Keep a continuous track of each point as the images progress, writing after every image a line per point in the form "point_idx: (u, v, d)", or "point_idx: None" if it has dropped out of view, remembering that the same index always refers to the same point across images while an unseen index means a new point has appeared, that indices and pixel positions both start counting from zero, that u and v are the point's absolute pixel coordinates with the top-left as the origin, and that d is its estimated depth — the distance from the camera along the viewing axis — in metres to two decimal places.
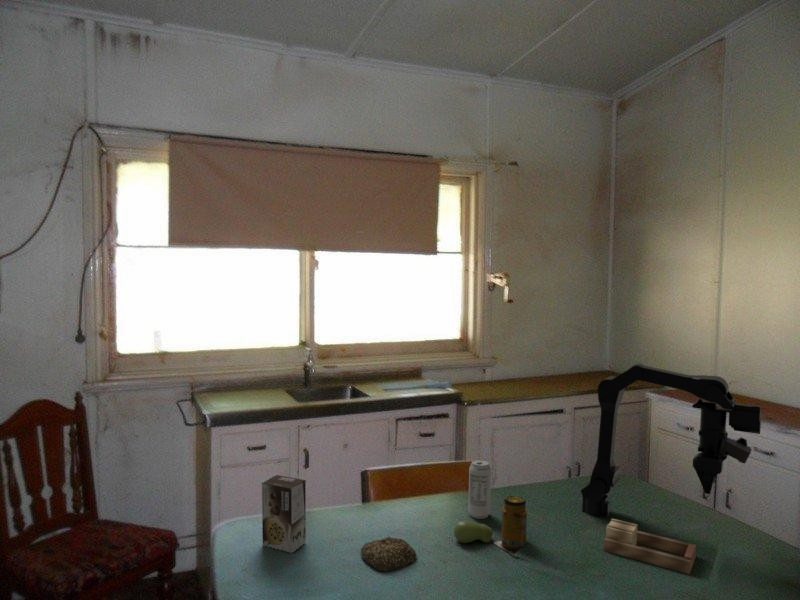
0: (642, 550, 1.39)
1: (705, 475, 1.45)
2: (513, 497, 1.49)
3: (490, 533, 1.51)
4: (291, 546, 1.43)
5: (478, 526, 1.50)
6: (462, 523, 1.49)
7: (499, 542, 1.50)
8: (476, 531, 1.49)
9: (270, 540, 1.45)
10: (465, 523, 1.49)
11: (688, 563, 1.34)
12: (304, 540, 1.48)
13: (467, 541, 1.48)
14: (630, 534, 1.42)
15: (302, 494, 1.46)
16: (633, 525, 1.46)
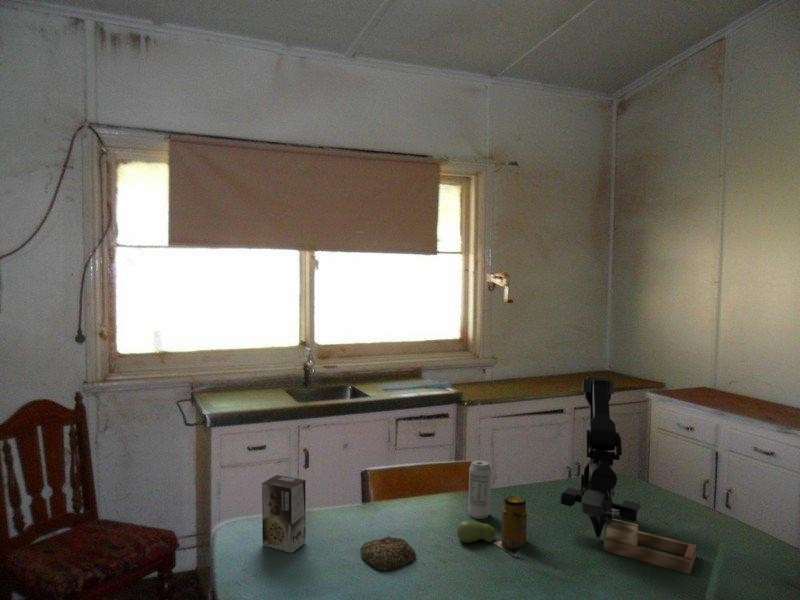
0: (642, 550, 1.39)
1: None
2: (513, 497, 1.49)
3: (493, 533, 1.51)
4: (291, 546, 1.43)
5: (481, 526, 1.50)
6: (465, 523, 1.50)
7: (499, 542, 1.50)
8: (479, 530, 1.49)
9: (270, 540, 1.45)
10: (468, 523, 1.49)
11: (688, 563, 1.34)
12: (304, 540, 1.48)
13: (470, 541, 1.48)
14: (631, 534, 1.42)
15: (302, 494, 1.46)
16: (634, 525, 1.46)
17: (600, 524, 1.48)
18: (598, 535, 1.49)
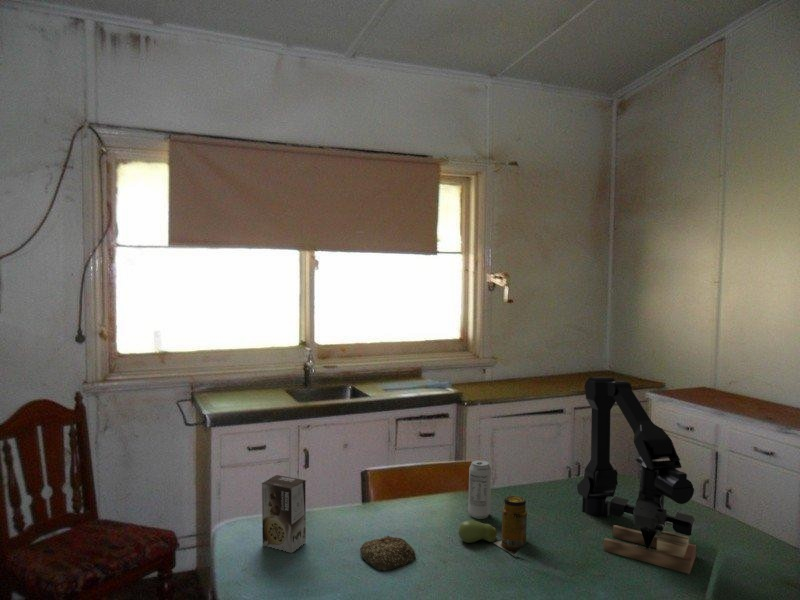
0: (642, 550, 1.39)
1: None
2: (513, 497, 1.49)
3: (494, 533, 1.51)
4: (291, 546, 1.43)
5: (483, 526, 1.50)
6: (467, 523, 1.50)
7: (499, 542, 1.50)
8: (481, 530, 1.49)
9: (270, 540, 1.45)
10: (470, 523, 1.49)
11: (688, 563, 1.34)
12: (304, 540, 1.48)
13: (472, 541, 1.48)
14: (683, 547, 1.36)
15: (302, 494, 1.46)
16: (685, 538, 1.40)
17: (649, 536, 1.42)
18: (646, 547, 1.43)
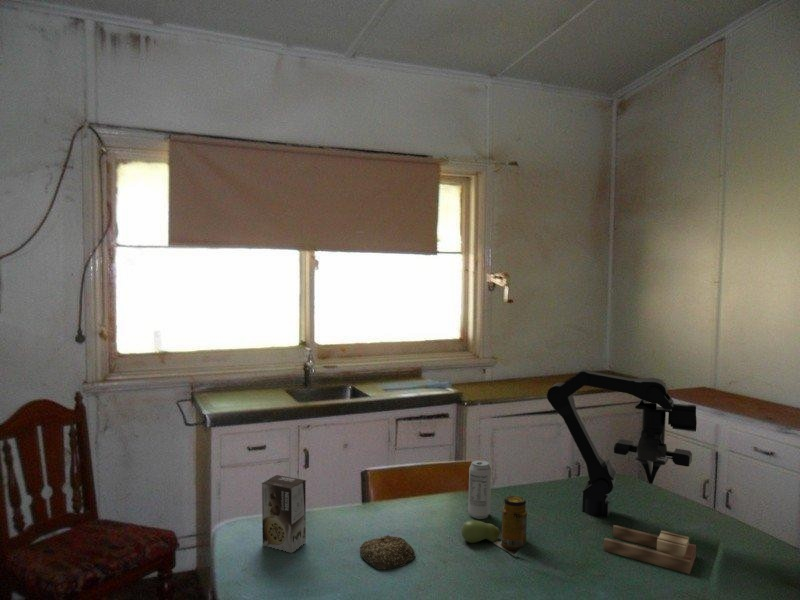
0: (642, 550, 1.39)
1: None
2: (513, 497, 1.49)
3: (497, 532, 1.51)
4: (291, 546, 1.43)
5: (485, 526, 1.50)
6: (470, 523, 1.50)
7: (499, 542, 1.50)
8: (484, 530, 1.49)
9: (270, 540, 1.45)
10: (473, 523, 1.50)
11: (688, 563, 1.34)
12: (304, 540, 1.48)
13: (475, 541, 1.49)
14: (683, 547, 1.36)
15: (302, 494, 1.46)
16: (685, 538, 1.40)
17: (653, 471, 1.58)
18: (651, 481, 1.59)
